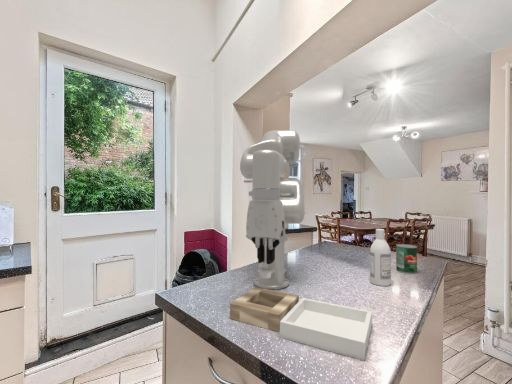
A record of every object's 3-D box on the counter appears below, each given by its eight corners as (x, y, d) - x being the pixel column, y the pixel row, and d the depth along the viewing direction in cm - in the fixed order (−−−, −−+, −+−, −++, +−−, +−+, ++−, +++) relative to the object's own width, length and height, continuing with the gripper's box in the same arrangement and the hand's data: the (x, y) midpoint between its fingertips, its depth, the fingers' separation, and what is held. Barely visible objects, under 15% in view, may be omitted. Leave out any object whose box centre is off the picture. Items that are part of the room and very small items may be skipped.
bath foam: (393, 283, 97) (393, 229, 97) (387, 288, 92) (387, 230, 92) (373, 279, 102) (373, 227, 102) (367, 283, 97) (367, 229, 97)
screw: (273, 273, 75) (276, 279, 70) (256, 274, 74) (258, 280, 70) (273, 228, 75) (276, 231, 70) (256, 228, 74) (258, 231, 70)
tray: (302, 310, 74) (302, 297, 74) (371, 325, 65) (371, 311, 65) (279, 337, 60) (279, 321, 60) (364, 361, 51) (364, 342, 51)
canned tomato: (399, 267, 118) (399, 243, 119) (419, 271, 113) (419, 245, 113) (393, 271, 113) (393, 245, 113) (414, 275, 107) (414, 248, 107)
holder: (255, 300, 81) (255, 287, 81) (298, 309, 74) (298, 295, 74) (229, 318, 69) (229, 303, 69) (279, 332, 62) (279, 314, 62)
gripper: (234, 195, 72) (234, 262, 73) (288, 196, 65) (288, 270, 65) (247, 195, 79) (247, 256, 79) (298, 195, 72) (298, 263, 72)
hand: (266, 261), depth 72 cm, fingers closed on screw, 2 cm apart
